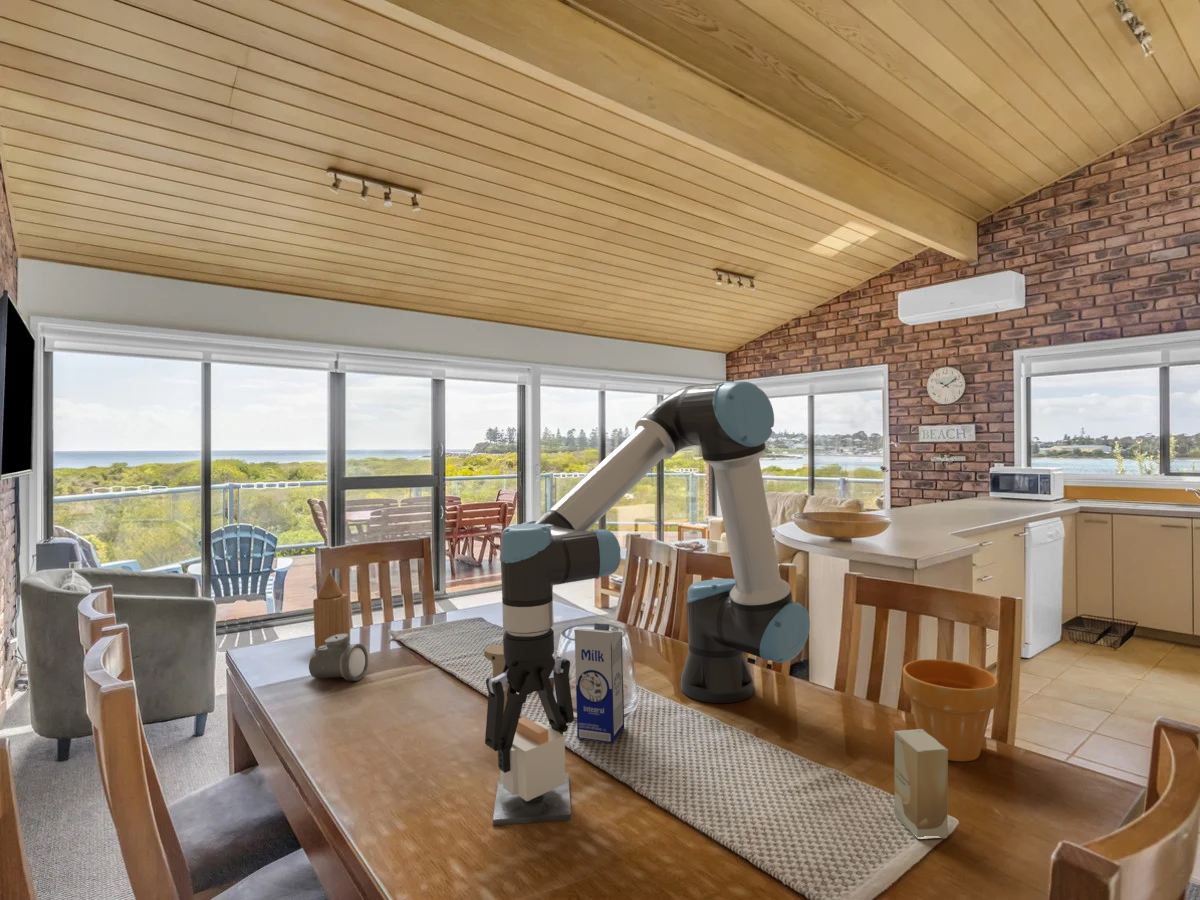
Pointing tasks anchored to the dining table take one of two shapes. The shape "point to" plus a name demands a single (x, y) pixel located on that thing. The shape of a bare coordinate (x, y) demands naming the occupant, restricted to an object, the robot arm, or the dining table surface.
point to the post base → (532, 806)
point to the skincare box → (921, 783)
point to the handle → (497, 663)
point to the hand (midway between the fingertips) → (532, 781)
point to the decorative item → (330, 612)
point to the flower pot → (951, 703)
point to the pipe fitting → (339, 659)
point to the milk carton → (599, 683)
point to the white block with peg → (538, 759)
